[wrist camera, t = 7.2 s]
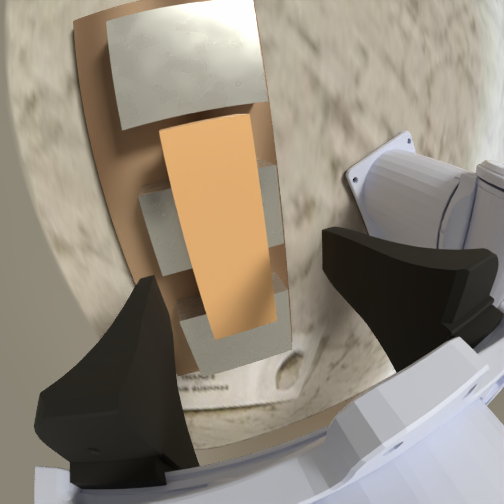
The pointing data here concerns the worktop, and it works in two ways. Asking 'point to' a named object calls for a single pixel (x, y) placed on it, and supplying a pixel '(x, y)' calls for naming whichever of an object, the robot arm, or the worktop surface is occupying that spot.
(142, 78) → the rail
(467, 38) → the worktop surface
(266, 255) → the tan rectangular plank
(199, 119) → the rail base
